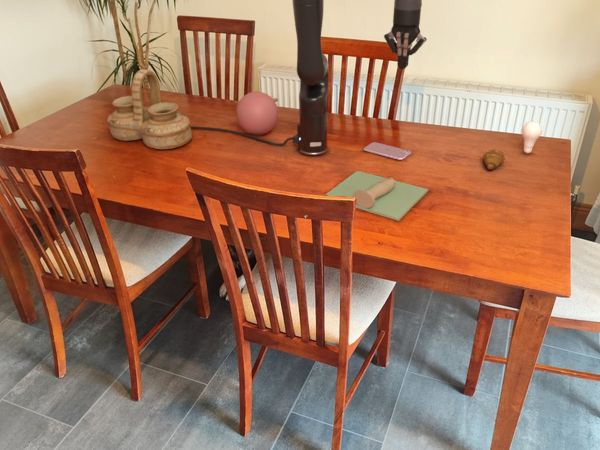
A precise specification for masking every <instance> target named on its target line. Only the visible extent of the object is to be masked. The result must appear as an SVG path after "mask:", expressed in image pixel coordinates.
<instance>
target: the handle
mask: <svg viewBox="0 0 600 450" xmlns="http://www.w3.org/2000/svg"><path fill="white" fill-rule="evenodd" d="M396 181H397V180H395V179H394V178H393V177H389V178H388V179H385V180H382V181H380V182H379V183H377V184H375V185H374V186H373V187H371V188H370V189H368V190H366V189H361V190H357V191H356V192H355V193H354V197H355V198H356V199H357V202H356V203H357V204H358V205H359V206H361V207H364V208H371V207H372V206H374V204H375V199H377V198H379V197H381V196H383V195H385V194H387V193H388V192H389V191H391V190H392V189H393V188H394V187H395V186H396Z"/></svg>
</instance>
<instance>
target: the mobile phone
mask: <svg viewBox="0 0 600 450" xmlns="http://www.w3.org/2000/svg"><path fill="white" fill-rule="evenodd" d="M363 151H364V152H367V153H371V154H375V155H379V156H382V157H386V158H390V159H394V160H398V161H402V160H405V158H407V157H408V156H409V155H411V154H412V152H411V150H409V149H405V148H404V149H403V148H400V147H396V146H393V145H389V144H384V143H380V142H376V141H374V142H371V143H369V144H368V145H366V146H365V147H363Z"/></svg>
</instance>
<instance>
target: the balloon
mask: <svg viewBox="0 0 600 450" xmlns="http://www.w3.org/2000/svg"><path fill="white" fill-rule="evenodd" d="M278 101H279V99H278V98H277V97H274V98H273V97H272V96H270V95H269V94H268V93H265V92H262V91H251V92H249V93H246V94H245V95H244V96H242V97H241V99H240V100H239V101H238V103H237V105H236V107H235V117H236V121H237V123H238V125H239V126H240V128H241V129H242V130H243V131H245V132H246V133H247V134H249V135H253V136H254V135H255V136H261V135H264V134H267V133H269V132H270V131H271V130H273V129H274V128H275V126H276V124H277V122H278V120H279V109H278V108H279V107H278V105H277V102H278Z"/></svg>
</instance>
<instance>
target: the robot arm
mask: <svg viewBox="0 0 600 450" xmlns="http://www.w3.org/2000/svg"><path fill="white" fill-rule="evenodd" d="M291 1H292V11H293V19H294V20H293V21H294V28H295V33H296V43H297V46H296V47H297V48H296V49H297V50H296V51H297V52H296V56H297V57H296V58H297V59H296V74H297V77H298V78H299V80H300V81H299V82H300V86H299V93H298V107H299V108H298V110H299V111H298V112H299V113H298V114H299V123H297V126H296V134H295V135H293V136H291V137H288V138H286V139H285V140H284V142H282V143H281V142H280V143H277V142H274V141H273V142H272V141H269V140H267V139H264V138H259V137H257V136H256V135H255V136H254V135H253V134H249V133H244V132H241V131H236V130H232V129H227V128H218V127H212V126H211V127H209V126H193V125H190V127H191V130H193V129H195V130H207V131H219V132H225V133H231V134H234V135H235V134H236V135H240V136H244V137H246V138H251V139H254V140H256V141H258V142H262V143H265V144H269V145H272V146H278V147H283V146H285V145H286V144H287V143H288V142H289V141H292V144H294V145H297V152H300V153H301V154H302V155H304V156H309V157H316V156H322V155H324V154H326V153H327V152H328V93H329V70H330V67H329V61H328V58H327V56H326V55H325V54H324V53H323V48H322V29H323V21H324V10H325V9H324V6H325V5H324V4H325V3H324V1H325V0H291ZM422 1H423V0H393V15H392V17H393V18H392V27H391V28H390V31H389V32H387V33H385V34H384V35H383V38H384V40H385V41H386V43H387V45H388V47H389V48H390V50H391V52H392V54H396V55H397V67H398V69H401V70H405V69H406V68H407V67H408V66H409V59H410V56H413V55H414V54H416V53H417V52H418V51H419V49H420V48H421V47H422V46H423V45H424V44H425V43H426V42H427V40H428V39H427V37H425V36H423V35H422V34H421V29H420V23H421V12H422V7H423V6H422V5H423V4H422V3H423V2H422ZM414 42H416V43H415V44H414V45H413V43H414Z"/></svg>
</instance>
